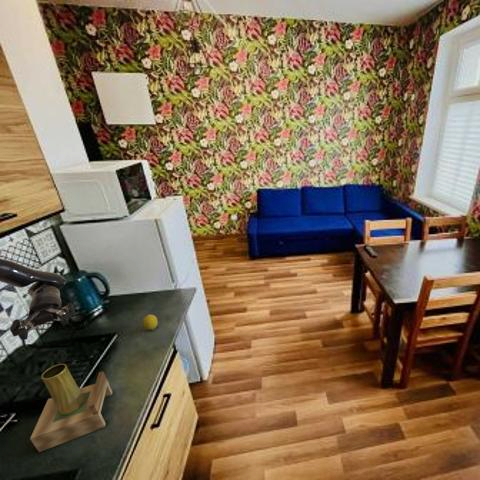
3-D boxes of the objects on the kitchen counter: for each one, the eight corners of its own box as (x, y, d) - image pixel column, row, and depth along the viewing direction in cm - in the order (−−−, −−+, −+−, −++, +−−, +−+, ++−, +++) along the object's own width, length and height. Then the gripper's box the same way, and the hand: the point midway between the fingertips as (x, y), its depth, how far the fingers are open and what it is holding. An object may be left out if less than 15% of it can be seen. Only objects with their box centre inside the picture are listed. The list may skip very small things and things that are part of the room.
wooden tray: (39, 452, 74) (23, 429, 70) (55, 412, 85) (42, 390, 81) (104, 426, 81) (93, 404, 77) (112, 392, 91) (103, 371, 88)
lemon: (143, 329, 120) (138, 315, 117) (156, 323, 124) (152, 309, 120) (148, 335, 116) (143, 321, 113) (161, 328, 120) (157, 314, 117)
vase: (56, 407, 80) (36, 373, 74) (81, 392, 85) (64, 358, 79) (62, 419, 77) (42, 384, 71) (88, 402, 81) (71, 368, 76)
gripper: (10, 305, 85) (3, 331, 74) (69, 288, 94) (71, 309, 83) (20, 324, 88) (15, 352, 77) (77, 306, 97) (79, 328, 85)
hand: (44, 330), depth 80 cm, fingers open, 8 cm apart
